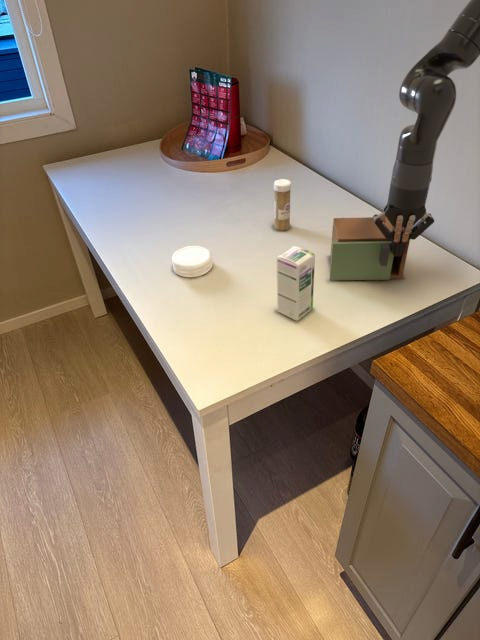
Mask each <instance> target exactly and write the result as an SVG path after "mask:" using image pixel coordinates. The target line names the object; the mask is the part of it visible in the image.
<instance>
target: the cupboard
mask: <svg viewBox="0 0 480 640" xmlns="http://www.w3.org/2000/svg"><path fill="white" fill-rule="evenodd" d="M385 220H386V222H385V223H384V224H385V225H386V227H387V228H388V229H389V231H391V232H392V225H391V223H390V222H389V220H388V219H387V217H386V218H385ZM332 221H333V222H332V232H331V242H330V243H331V245H330V254H329V255H330V256H329V257H330V258H329V259H331V254H332V243H333V242H368V241H392V240H387V239H386V238H385V236H384V235H383V234H382V232H381V231H380V230H379V228H378V227H377V226H376V224H375V222H374V219H373V216H371V217H370V216H369V217H333V220H332ZM410 242H411V239H410V240H408V241H407V242H406V247H405V252H404V253H403V254H401V256H394V257H393V263H392V268H391V274H390V279H403V276H404V271H405V266H406V262H407V258H408V251H409V247H410Z"/></svg>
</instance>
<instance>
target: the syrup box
mask: <svg viewBox="0 0 480 640" xmlns="http://www.w3.org/2000/svg"><path fill="white" fill-rule="evenodd" d="M315 262H316V254H315V253H314V252H312V251H310V250H307V249H306V248H303V247H299V246H296V245H292V247H291V248H288V249H287V250H286V251H284V252H282V253H281V254H278V256H277V257H276V297H277V298H276V299H277V300H276V301H277V302H276V303H277V304H276V305H277V308H276V309H277V312H278V313H280V314H282V315H283V316H286V317H288V318H290V319H291V320H294V321H296V322H299V320H300V319H302V318H303V317H305V316H306V315H307V314H308V313H310V311H312V310H313V308H314V287H315V267H316V265H315V264H316V263H315Z"/></svg>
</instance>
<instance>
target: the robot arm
mask: <svg viewBox="0 0 480 640" xmlns="http://www.w3.org/2000/svg"><path fill="white" fill-rule="evenodd" d="M479 58H480V0H469V1H468V3H467V4H466V5H465V6H464V7H463V8H462V10H461V11H460V13H459V14H458V15H457V17H456V18H455V19H454V21H453V22H452V24H451V25H450V27H449V28H448V29H447V31H446V32H445V34H444V35H443V37H442V38H441V39H440V41H439V42H438V43H436V44H435V45H433V47H431V49H429V51H427V52H426V54H425V55H424V56H423V57H421V58H420V59H419V60H418V61H417V62H416V63H415V64H414V65H413V66H412V67H411V68H410V70H409V71H408V72H407V74H406V75H405V76H404V78H403V80H402V83H401V85H400V88H399V94H398V95H399V97H398V98H399V102H400V104H401V105H402V106H403V107H404V108H405V109H407V110H409V111H411V112H413V113H416V114H417V118H416V120H415V122H414V124H409V125H407V126H405V127H404V128H402V130H401V132H400V134H399V139H398V144H397V150H396V156H395V161H394V164H393V168H392V173H391V178H390V185H389V190H388V195H387V196H388V197H387V203H386V205H384V206H385V207H384V208H383V211H382V212H381V213H379V214H377V213H376V214H374V215H373V216H372V217H373V219H374V222H375V224H376V226H377V227H378V228H379V230H380V231H381V232H382V234H383V235H384V236H385V238H386V239H387V240H392V242H391V248H390V249H391V252H392V254H393V255H394V256H401V254H403V253H404V252H405V247H406V242H407V241H408V240H410V241H411V240H412V241H413V240H416V239H417V238H419V237H420V236H421V235H422V234H423V233H424V232H425V231H426V230H427V229H428V228H430V227H431V226H432V225H433V224H434V223H435V218H434V217H433V214H431V213H428V212H427V208H426V203H427V200H428V195H429V190H430V185H431V182H432V179H433V171H434V162H435V161H434V160H435V155H436V152H437V146H438V141H439V139H440V138H441V137H440V136H441V135H442V133H443V131H444V129H445V127H446V125H447V123H448V121H449V119H450V117H451V115H452V113H453V110H454V108H455V105H456V101H457V86H456V83H455V81H454V80H453V79H452V78H451V77H450V76H449V75H450V74H452V73H453V72H455V71H457V70H459V71H460V70H466V69H468V68H471V67H472V66H473V65H474V63H475V62H477V60H478V59H479ZM386 217H387V219H388V220H389V222H390V223H391V225H392V232H391V231H389V229H388V228H387V227H386V225H385V224H384V223H385V222H386V220H385V218H386Z"/></svg>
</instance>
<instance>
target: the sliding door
mask: <svg viewBox="0 0 480 640" xmlns="http://www.w3.org/2000/svg"><path fill="white" fill-rule="evenodd" d="M391 242H392V241H368V242H333V243H332V242H331V243H332V254H331V253H330V255H331V258H330V268H329V281H379V280H380V281H381V280H383V281H384V280H385V281H386V280H390V279H391V278H390V274H391V268H392V263H393V257H394V255H393V254H392V252H391V249H390V248H391Z"/></svg>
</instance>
